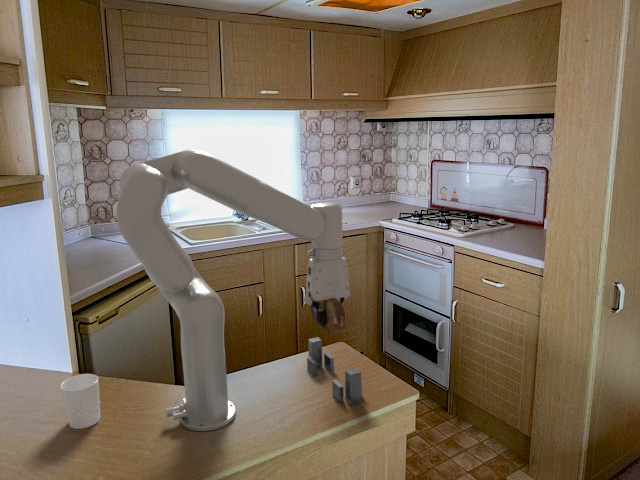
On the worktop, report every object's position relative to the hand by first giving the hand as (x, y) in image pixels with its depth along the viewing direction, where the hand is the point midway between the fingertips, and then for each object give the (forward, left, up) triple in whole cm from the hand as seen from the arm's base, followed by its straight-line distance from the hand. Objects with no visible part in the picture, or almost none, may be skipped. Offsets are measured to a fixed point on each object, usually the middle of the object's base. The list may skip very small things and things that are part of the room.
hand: (327, 322), depth 130 cm
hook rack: (+1, 0, -17) cm, 17 cm away
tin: (0, 0, -1) cm, 1 cm away
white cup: (-58, +12, -17) cm, 61 cm away
